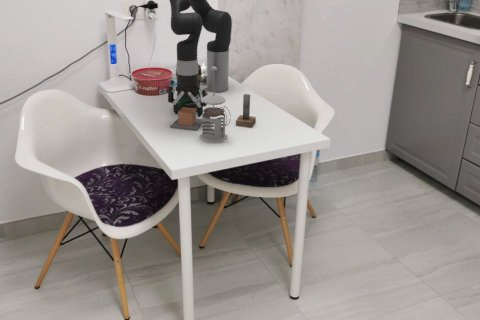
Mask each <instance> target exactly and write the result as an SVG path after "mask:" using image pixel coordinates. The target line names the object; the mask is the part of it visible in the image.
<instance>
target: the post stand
mask: <svg viewBox="0 0 480 320" xmlns="http://www.w3.org/2000/svg"><path fill="white" fill-rule="evenodd" d="M250 108H251V94H248V93H245V94H243V101H242V114H240V115H238V117H237V118H236V120H235V126H236V127H244V128H253V127H254V125H255V124H256V120H257V118H256V117H257V116H252V115H250V112H251V111H250Z"/></svg>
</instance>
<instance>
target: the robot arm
mask: <svg viewBox="0 0 480 320" xmlns="http://www.w3.org/2000/svg"><path fill="white" fill-rule="evenodd" d="M169 3H170V12H171V13H170V29H171V31H172V33H173V34H175V35H176V36H183V35H184V36H185V35H188V37H187V38H186V39H183V40H180V41H178V42H177V43H176V66H175V67H176V68H177V77H176V85H175V86H174V84H171V85H169V86H168V87H167V90H168V91H167V92H168V93H167V102H168V103H170V104H172V107H173V113H174V115H178V112H179V103H178V101H179V100H180V99H181V98H182V99H183V100H186V99H187V100H193V101H194V103H196V104H197V106H198V108H197V109H198V112H197V117H198V118H201V117H202V115H203V113H204V112H203V110H204V107H206V106H207V105H208V104H205V103H203V101H202V98H203V97H205V96H207V95H209V94H208V91H209V92H212V93H213V90H214V93H222V92H227V91H228V90H229V66H230V65H229V62H230V61H229V59H230V58H229V57H230V56H229V55H230V54H229V53H230V45H231V41H232V27H233V25H232V24H233V23H232V22H233V21H232V20H233V19H232V16H231V14H230V13H229V12H227V11H223V10H218V9H215V8H213V7H212V6H211V4H210V3H209V2H208V0H169ZM190 8H192V10H193V11H194V12H184V11H187V10H188V9H190ZM202 29H204V30H206V31H207V32H209V33H212V34H215V37H214V40H210V41H208V42H207V44H206V87H205V88H200V89H199V87H198V71H199V69H198V64H199V62H198V47H199V46H198V45H199V42H200V36H201V33H202ZM213 66H214V67H216V68H217V70H216V71H212V70H211V68H212V67H213ZM176 68H175V69H176ZM175 91H176V93H177V92H178V94H179V95H178V96H177V95H176V97H175V96H174V94H175ZM199 92H200V95H201V100H200V97H199V96H198V93H199ZM174 97H175V98H174Z"/></svg>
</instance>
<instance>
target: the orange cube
mask: <svg viewBox="0 0 480 320" xmlns="http://www.w3.org/2000/svg"><path fill="white" fill-rule="evenodd" d="M177 116H178V117H177V119H178V123H179V125H184V126H193V125H194V123H195V122H196V118H197V113H196V109H194V108H186V107H183V108H182V109H181V110H180V111H179V112H178V114H177Z"/></svg>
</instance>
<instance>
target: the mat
mask: <svg viewBox="0 0 480 320" xmlns="http://www.w3.org/2000/svg"><path fill="white" fill-rule="evenodd" d="M202 126H203V125H202V118H197V117H196V122H195V123H194V125H193V126H184V125H179V123H178V118H177V119H175V120H174V121H173V123H171V124H170V126H169V128H170V129H177V130H185V131H196V132H197V131H198V130H199V129H200V128H202Z"/></svg>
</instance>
